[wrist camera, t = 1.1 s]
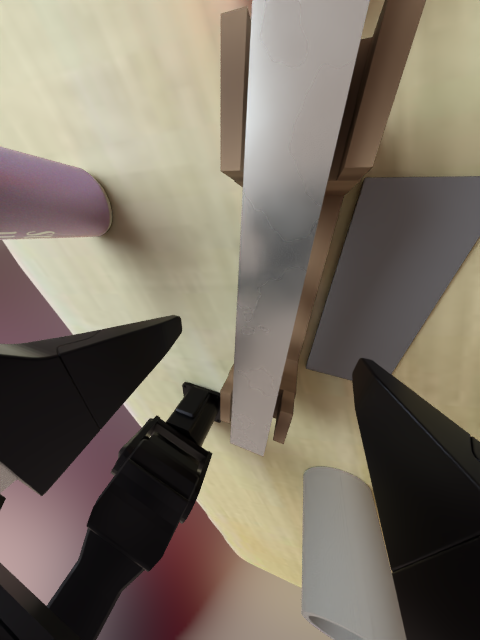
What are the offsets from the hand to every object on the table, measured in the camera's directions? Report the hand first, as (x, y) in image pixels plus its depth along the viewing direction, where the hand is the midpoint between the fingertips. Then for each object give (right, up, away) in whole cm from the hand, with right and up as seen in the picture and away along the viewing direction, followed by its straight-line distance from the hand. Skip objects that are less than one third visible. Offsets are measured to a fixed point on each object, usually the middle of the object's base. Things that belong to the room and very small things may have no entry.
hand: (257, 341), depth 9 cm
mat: (+10, +2, +5) cm, 12 cm away
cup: (+14, -24, +18) cm, 33 cm away
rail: (+1, +2, +3) cm, 4 cm away
